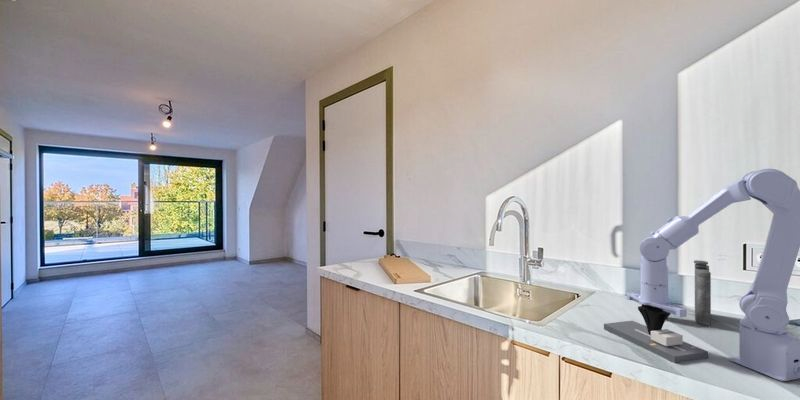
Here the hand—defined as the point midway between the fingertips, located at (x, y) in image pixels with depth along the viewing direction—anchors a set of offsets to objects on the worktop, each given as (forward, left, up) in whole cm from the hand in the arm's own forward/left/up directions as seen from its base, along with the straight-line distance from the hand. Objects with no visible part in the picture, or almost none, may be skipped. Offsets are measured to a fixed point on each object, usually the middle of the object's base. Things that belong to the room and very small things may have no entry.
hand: (654, 335), depth 86 cm
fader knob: (-3, 0, 0) cm, 3 cm away
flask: (+10, -30, -2) cm, 32 cm away
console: (+1, 0, -2) cm, 2 cm away
